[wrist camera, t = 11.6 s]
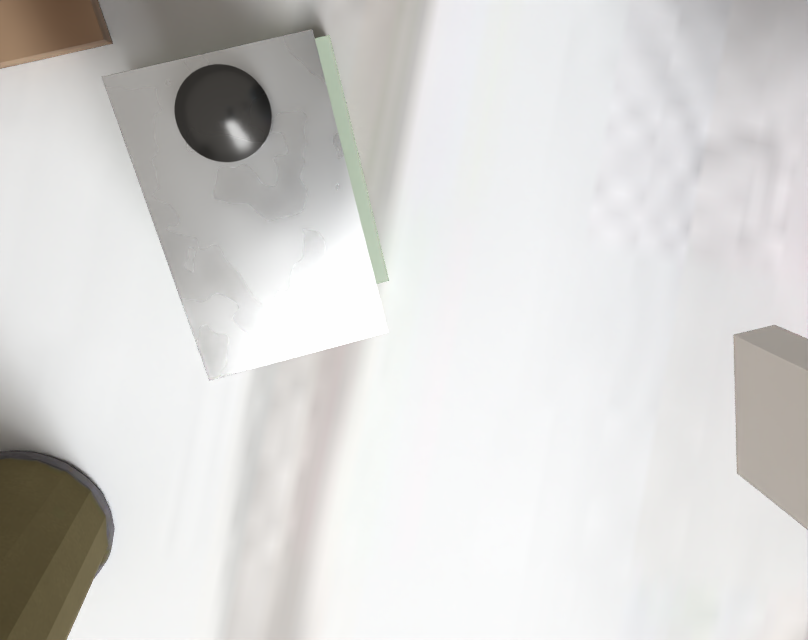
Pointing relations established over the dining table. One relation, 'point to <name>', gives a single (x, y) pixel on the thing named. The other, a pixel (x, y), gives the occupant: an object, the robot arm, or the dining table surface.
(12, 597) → the canister
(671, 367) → the dining table surface
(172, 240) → the cover plate
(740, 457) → the robot arm
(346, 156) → the stand
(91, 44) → the stand
